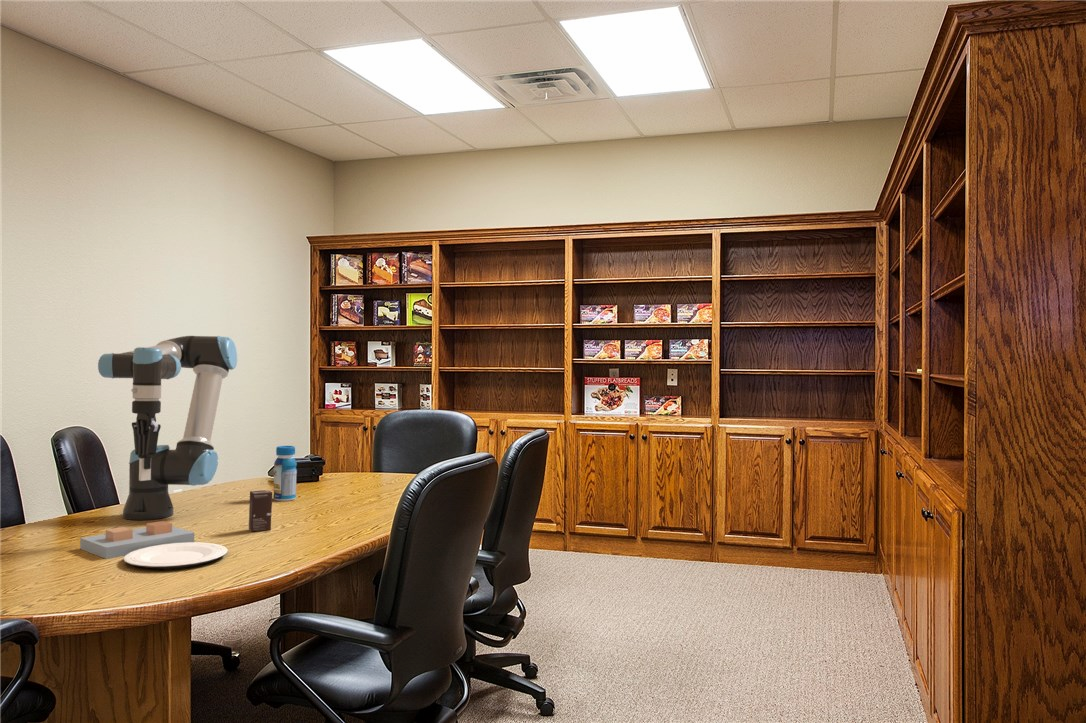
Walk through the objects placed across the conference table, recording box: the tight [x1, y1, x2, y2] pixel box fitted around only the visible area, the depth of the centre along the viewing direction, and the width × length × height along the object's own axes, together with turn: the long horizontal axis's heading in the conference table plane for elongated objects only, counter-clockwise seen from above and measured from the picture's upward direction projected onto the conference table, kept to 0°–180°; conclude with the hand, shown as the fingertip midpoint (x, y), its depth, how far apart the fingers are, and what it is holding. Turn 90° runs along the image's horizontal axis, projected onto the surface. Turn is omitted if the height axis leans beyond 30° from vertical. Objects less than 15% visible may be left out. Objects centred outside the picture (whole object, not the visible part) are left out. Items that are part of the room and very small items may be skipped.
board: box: [79, 525, 195, 560], centre depth 218 cm, size 16×24×3 cm, turn 142°
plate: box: [123, 541, 228, 570], centre depth 205 cm, size 25×25×2 cm
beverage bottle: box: [272, 445, 298, 502], centre depth 292 cm, size 8×8×20 cm
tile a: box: [145, 520, 173, 535], centre depth 222 cm, size 5×5×2 cm
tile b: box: [105, 526, 134, 542], centre depth 213 cm, size 5×5×2 cm
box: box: [248, 489, 273, 533], centre depth 241 cm, size 6×4×12 cm
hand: (144, 480), depth 227 cm, fingers closed
